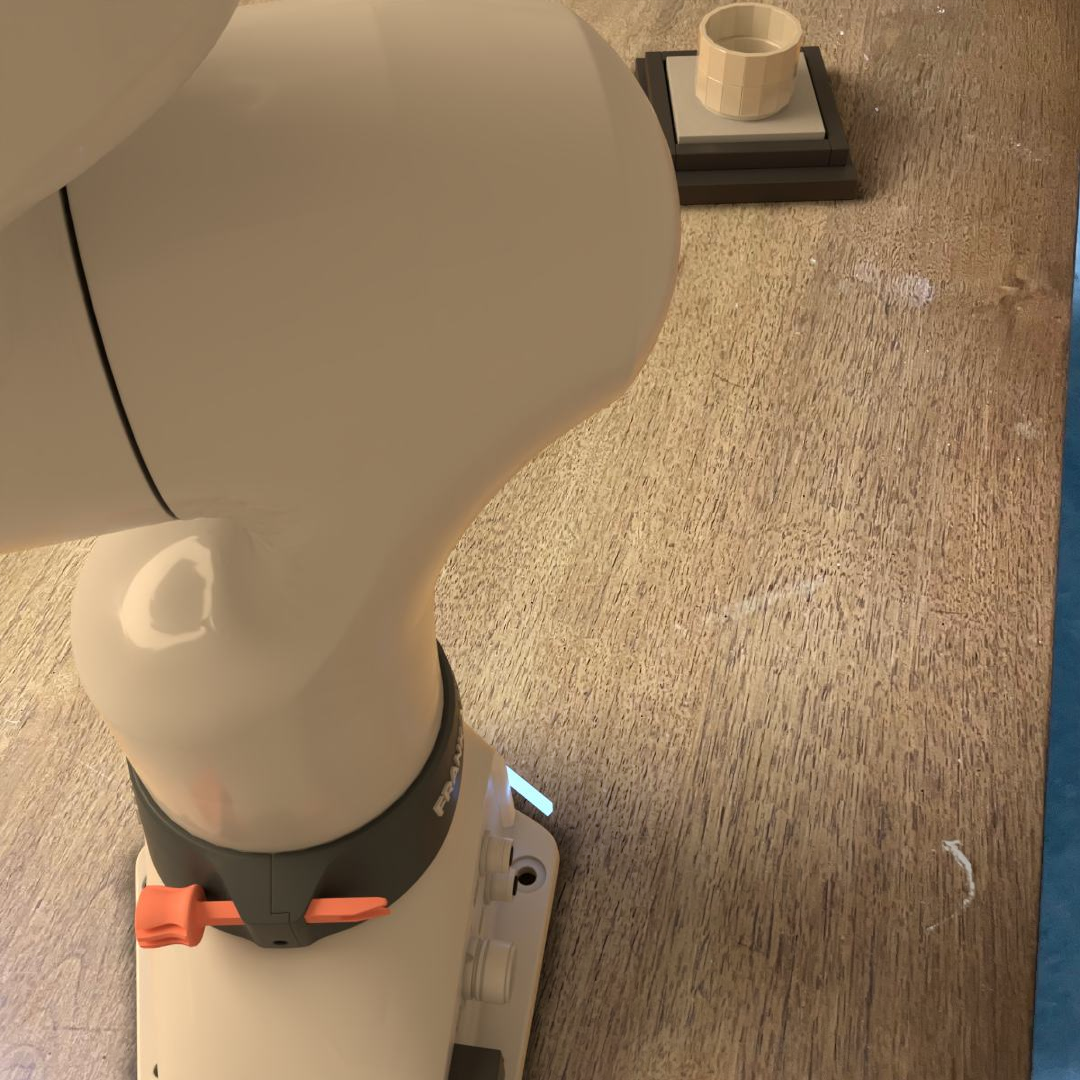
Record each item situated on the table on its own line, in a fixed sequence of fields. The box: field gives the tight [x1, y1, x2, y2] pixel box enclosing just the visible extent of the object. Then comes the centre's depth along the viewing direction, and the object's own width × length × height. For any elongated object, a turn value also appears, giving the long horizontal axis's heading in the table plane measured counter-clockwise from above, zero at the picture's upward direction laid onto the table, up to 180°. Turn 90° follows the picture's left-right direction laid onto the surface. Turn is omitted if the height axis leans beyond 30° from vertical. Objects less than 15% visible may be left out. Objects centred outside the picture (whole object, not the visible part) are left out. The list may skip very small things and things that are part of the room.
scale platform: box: [666, 52, 825, 144], centre depth 86 cm, size 10×10×2 cm
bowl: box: [694, 1, 804, 121], centre depth 83 cm, size 7×7×5 cm
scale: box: [634, 45, 859, 206], centre depth 87 cm, size 16×14×3 cm
